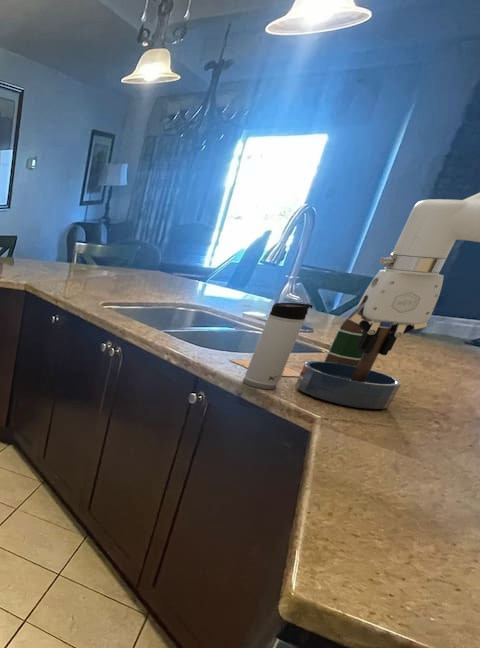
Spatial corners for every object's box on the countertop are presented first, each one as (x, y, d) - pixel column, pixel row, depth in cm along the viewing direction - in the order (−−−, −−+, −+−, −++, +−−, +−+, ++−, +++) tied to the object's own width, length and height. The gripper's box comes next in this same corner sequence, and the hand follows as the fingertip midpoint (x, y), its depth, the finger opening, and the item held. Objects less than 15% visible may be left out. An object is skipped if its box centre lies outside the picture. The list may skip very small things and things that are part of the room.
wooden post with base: (372, 395, 108) (405, 329, 102) (360, 398, 106) (393, 331, 100) (343, 387, 112) (373, 323, 106) (332, 389, 111) (362, 325, 105)
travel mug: (276, 392, 113) (313, 306, 105) (241, 384, 117) (274, 301, 109) (278, 385, 117) (313, 302, 109) (243, 378, 121) (275, 297, 113)
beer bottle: (366, 378, 124) (414, 283, 115) (328, 373, 127) (372, 280, 117) (350, 369, 131) (394, 278, 121) (314, 365, 133) (354, 275, 124)
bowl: (401, 405, 108) (415, 380, 105) (366, 415, 102) (379, 389, 100) (316, 381, 121) (326, 358, 118) (280, 388, 115) (290, 364, 113)
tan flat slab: (263, 375, 123) (270, 359, 122) (228, 360, 135) (233, 345, 133) (310, 377, 124) (317, 361, 122) (271, 361, 135) (277, 346, 133)
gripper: (373, 264, 98) (333, 352, 105) (481, 271, 93) (431, 363, 100) (353, 260, 104) (317, 343, 111) (453, 266, 99) (408, 353, 106)
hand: (371, 351), depth 106 cm, fingers closed on wooden post with base
